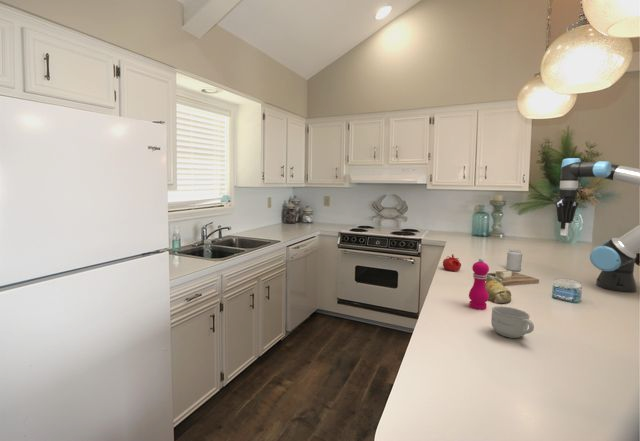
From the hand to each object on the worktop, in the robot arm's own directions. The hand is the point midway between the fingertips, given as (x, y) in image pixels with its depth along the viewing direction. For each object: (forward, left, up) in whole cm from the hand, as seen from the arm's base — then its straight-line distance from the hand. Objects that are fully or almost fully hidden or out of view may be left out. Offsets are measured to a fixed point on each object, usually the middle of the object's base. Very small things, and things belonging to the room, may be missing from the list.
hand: (563, 235), depth 176 cm
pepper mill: (-21, +71, -25) cm, 78 cm away
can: (+25, +4, -25) cm, 35 cm away
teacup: (-46, +80, -25) cm, 95 cm away
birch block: (+5, +33, -22) cm, 40 cm away
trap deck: (+8, +26, -24) cm, 37 cm away
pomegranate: (+33, +41, -25) cm, 58 cm away
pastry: (-14, +56, -25) cm, 63 cm away
